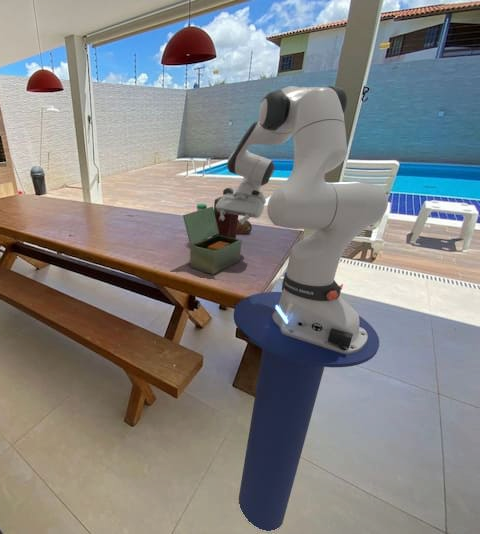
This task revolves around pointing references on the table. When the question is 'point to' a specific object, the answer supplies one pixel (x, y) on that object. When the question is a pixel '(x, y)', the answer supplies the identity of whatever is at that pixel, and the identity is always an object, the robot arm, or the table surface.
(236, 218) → the dark brown tall piece
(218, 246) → the toy van
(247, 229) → the brown rounded piece
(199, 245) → the green hinged box
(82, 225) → the table surface
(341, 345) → the robot arm
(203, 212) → the lid
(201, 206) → the milk bottle
